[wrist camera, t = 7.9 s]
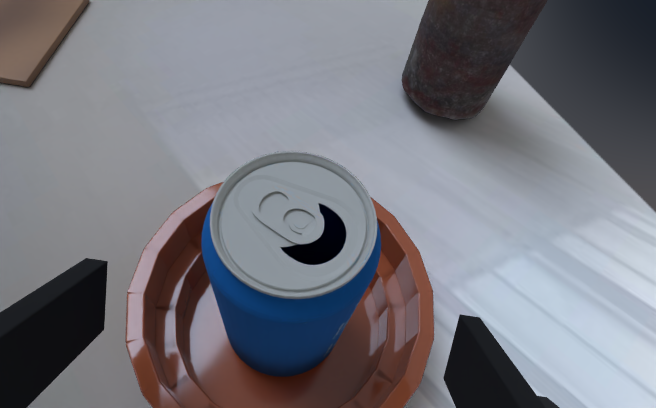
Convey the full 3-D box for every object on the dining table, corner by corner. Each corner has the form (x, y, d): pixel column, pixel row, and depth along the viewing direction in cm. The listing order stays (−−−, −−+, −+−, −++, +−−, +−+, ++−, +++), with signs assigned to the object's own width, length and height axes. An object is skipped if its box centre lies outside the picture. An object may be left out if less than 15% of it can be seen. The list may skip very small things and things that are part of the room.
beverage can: (295, 405, 22) (318, 356, 12) (202, 331, 23) (151, 231, 13) (360, 308, 25) (422, 203, 15) (274, 247, 27) (278, 114, 16)
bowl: (109, 448, 20) (68, 444, 16) (193, 198, 28) (180, 151, 24) (404, 486, 21) (438, 492, 17) (407, 231, 29) (431, 191, 25)
